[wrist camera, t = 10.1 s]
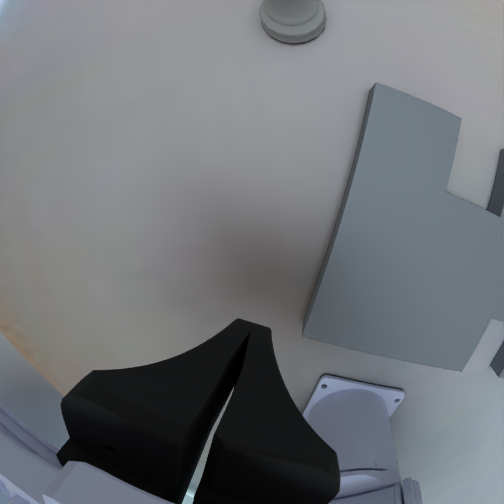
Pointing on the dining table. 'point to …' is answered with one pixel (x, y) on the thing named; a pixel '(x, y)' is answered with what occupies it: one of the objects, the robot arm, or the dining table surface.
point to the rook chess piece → (293, 19)
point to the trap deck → (410, 245)
